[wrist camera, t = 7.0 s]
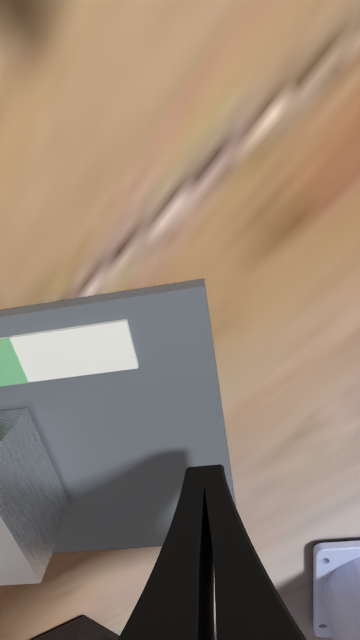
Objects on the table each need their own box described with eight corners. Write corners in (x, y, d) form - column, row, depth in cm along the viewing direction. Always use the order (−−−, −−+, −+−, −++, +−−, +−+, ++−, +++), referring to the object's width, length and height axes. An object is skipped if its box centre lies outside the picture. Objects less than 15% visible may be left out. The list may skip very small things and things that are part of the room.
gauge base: (237, 521, 16) (254, 630, 12) (-57, 543, 18) (-130, 646, 14) (204, 278, 11) (211, 327, 7) (-207, 342, 13) (-395, 410, 9)
